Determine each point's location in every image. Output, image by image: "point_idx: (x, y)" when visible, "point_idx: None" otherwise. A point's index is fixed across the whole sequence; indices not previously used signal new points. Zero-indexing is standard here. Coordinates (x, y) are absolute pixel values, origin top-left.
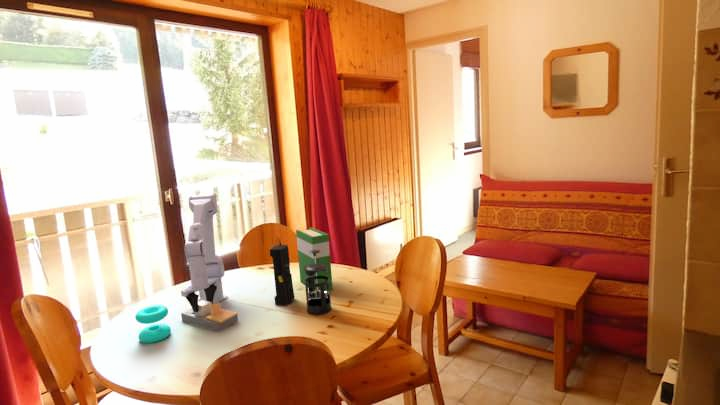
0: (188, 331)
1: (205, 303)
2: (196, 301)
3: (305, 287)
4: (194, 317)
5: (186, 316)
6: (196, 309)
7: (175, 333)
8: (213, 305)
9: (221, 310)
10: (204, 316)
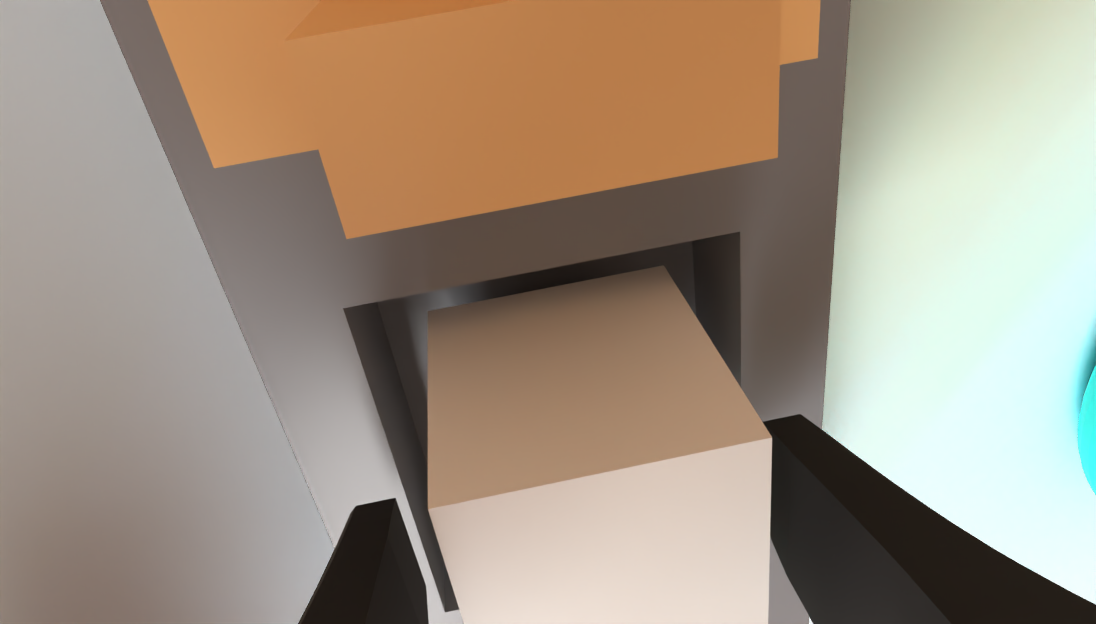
0: (982, 136)
1: (592, 544)
2: (1026, 621)
3: None
4: (823, 354)
5: None
6: (852, 453)
7: (1093, 244)
8: (676, 14)
9: (281, 92)
10: (709, 219)
